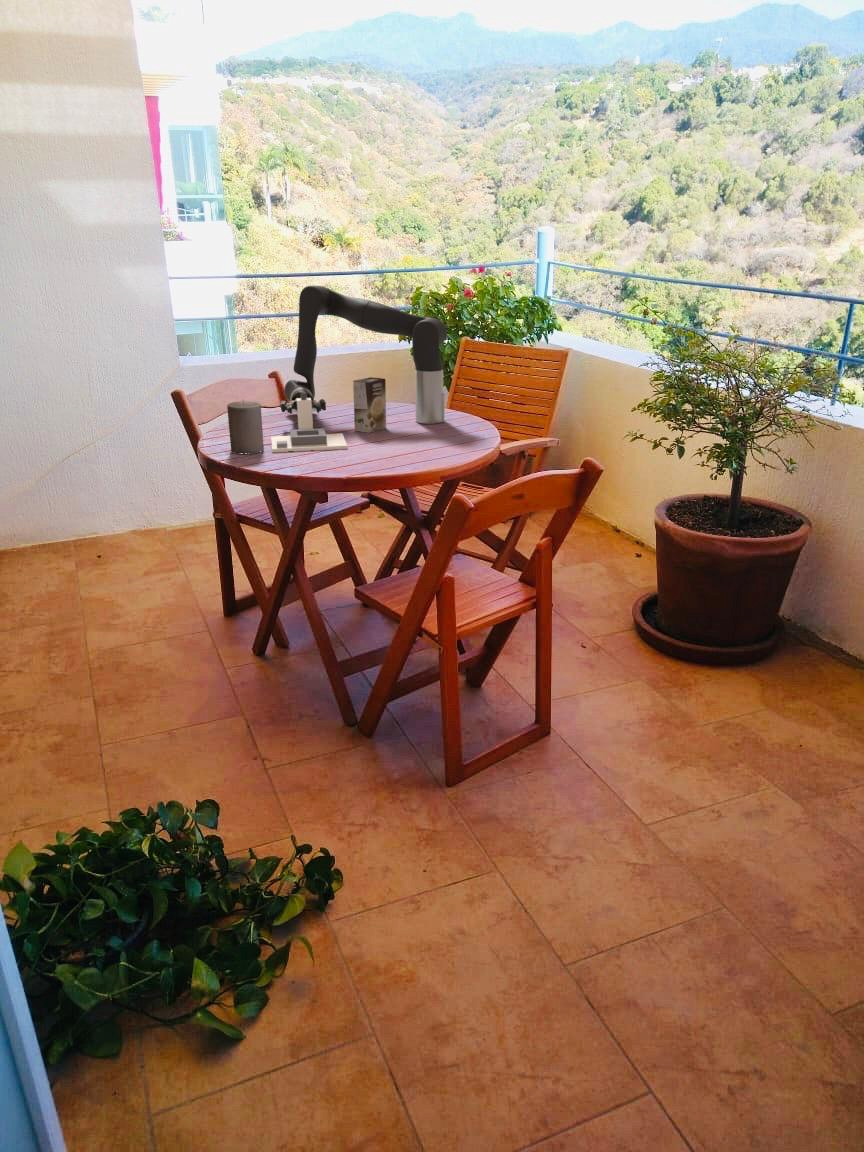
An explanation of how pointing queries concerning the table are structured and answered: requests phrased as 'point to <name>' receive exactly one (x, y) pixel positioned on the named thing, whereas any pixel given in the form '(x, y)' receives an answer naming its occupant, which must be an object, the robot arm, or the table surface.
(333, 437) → the socket dock
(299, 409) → the plug
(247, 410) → the pillar candle
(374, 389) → the coffee box
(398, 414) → the table surface
